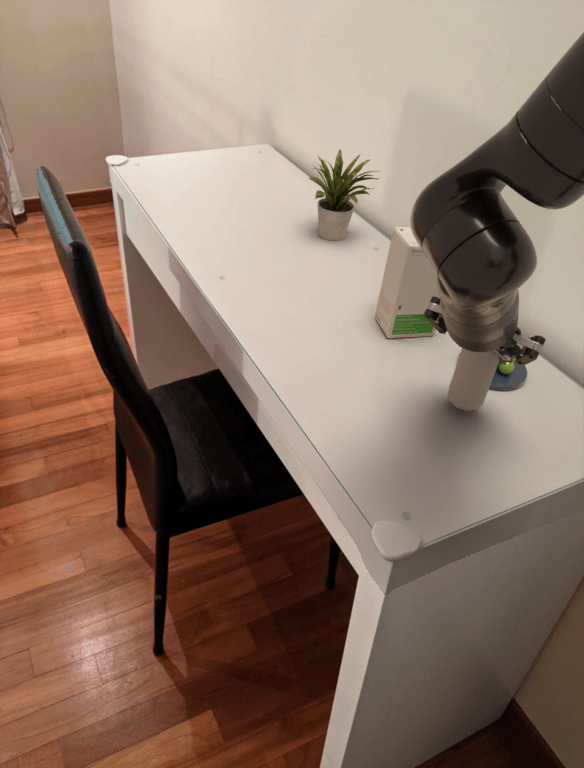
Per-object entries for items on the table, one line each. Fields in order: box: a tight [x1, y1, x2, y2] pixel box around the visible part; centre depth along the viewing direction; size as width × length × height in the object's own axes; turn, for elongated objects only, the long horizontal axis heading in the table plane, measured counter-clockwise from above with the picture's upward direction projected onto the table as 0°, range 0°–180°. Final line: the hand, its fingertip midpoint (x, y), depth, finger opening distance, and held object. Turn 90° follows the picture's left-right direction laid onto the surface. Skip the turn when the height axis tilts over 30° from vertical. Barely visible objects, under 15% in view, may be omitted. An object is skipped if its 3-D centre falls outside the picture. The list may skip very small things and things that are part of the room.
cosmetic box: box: [374, 226, 440, 339], centre depth 92 cm, size 8×7×16 cm
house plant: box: [308, 148, 383, 242], centre depth 114 cm, size 14×14×16 cm
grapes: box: [456, 351, 528, 392], centre depth 88 cm, size 10×10×6 cm
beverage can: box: [446, 348, 500, 412], centre depth 78 cm, size 5×5×12 cm
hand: (485, 348), depth 78 cm, fingers closed on beverage can, 5 cm apart
